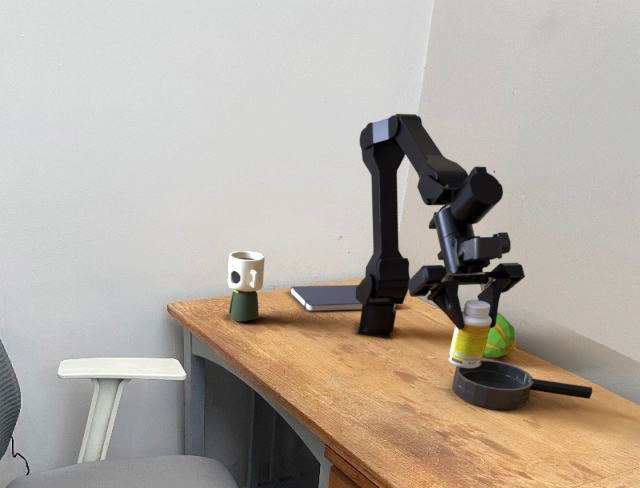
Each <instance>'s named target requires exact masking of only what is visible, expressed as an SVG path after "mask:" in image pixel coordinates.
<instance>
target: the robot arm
mask: <svg viewBox="0 0 640 488" xmlns="http://www.w3.org/2000/svg"><path fill="white" fill-rule="evenodd" d="M359 146H360V149H361V159H362V162H363V165H364V166H365V168H366V169H367V170H368V172H369V173H370V178H371V213H372V214H371V215H372V216H371V218H372V247H373V249H372V250H373V251H372V255H371V256H370V259H369V260H368V262H367V264H366V266H365V274H364V275H365V276H364V277H363V279H362V280H361V281H360V282H359V283H358V284H357V285H358V286H357V287H356V299H357V300H358V301H359V302H361V303H362V304H363V305H362V310H361V312H360V320H359V326H358V329H357V332H356V333H357V334H359V335H365V336H366V335H367V336H373V337H379V338H390V335H391V334H392V333H393V332H394V328H395V323H396V315H397V311H398V310H397V308H396V309H394V305H395V304H396V305H403V304H404V302H405V299H406V297H407V295H408V292H409V296H410V297H411V298H414V297H418V298H419V297H426V300H427V301H431V302H433V304H435V305H436V306H437V307H438V308H439V309H440V311H442V312H443V313H444V314H445V315H446V316H447V318H448V319H449V320H450V322H452V324H453V325H454V327H455V326H456V327H457V328H458V329H459V330H462V329H463V328H464V320H463V315H462V312H463V311H462V307H461V302H460V298H459V286H469V285H471V286H473V285H479V286H480V290H481V292H479V294H478V295H476V297H477V300H479V301H484V302H486V303H488V304H489V305H490V310H489V314H488V315H489V316H490V317H491V319H492V322H491V327H490V328H493V327H495V325H496V319H497V312H498V311H499V303H500V298H501V294H504V293H507V292H509V291H510V290H511V289H513V288H514V287H515V286H516V285H517V284H518V283H520V282H521V281H522V280H523V279H524V278H526V275H525V271H524V270H525V269H524V267H523V265H522V264H520V263H518V262H500V263H499V264H497V265H496V266H495V267H494V268H493V269H491V271H484V270H483V269H484V268H488V267H489V266H490V265H491V260H495V259H498V260H500V259H503V255H505V254H508V253H510V251H511V248H512V247H511V246H512V244H511V243H512V242H511V239H510V236H509V232H507V231H506V232H505V231H504V232H502V231H501V232H497V233H494V234H492V236H481V235H476V234H475V230H474V226H473V225H475V224H476V225H477V224H478V223H480V222H481V221H482V220H483V219H484V218H485V217H486V216H487V215H488V214H489V213H490V212H491V211H492V210H493V209H494V208H495V206H496V205H498V203H499V202H500V201H501V200H502V198H503V196H504V188H503V185H502V184H501V183H500V181H499V180H498V178H496V177H495V176H494V175H493V174H491V173H489V172H488V170H487V167H486V166H474V167H473V168H472V169H471V170H470V172H469V174H468V171H467V170H466V169H465V168H464V167H462V166H461V165H460V164H459V163H458V162H455V161H454V160H451V159H449V158H447V157H445V156H444V154H443V153H442V152H441V150H440V149H439V148H438V145H436V143H435V142H434V140H433V139H432V137H431V135H430V134H429V133H428V131H427V130H426V128H425V126H423V122H422V118H421V117H420V116H419V115H417V114H415V113H413V114H412V113H396V114H393V115H391V116H390V117H388V118H384V119H382V120H378V121H373V122H368V123H367V124H366V126H365V127H364V128H362V130H361V131H360V134H359ZM405 157H406V158H407V160H408V161H409V163H410V164H411V166H412V168H413V169H414V170H415V172H416V174H417V176H418V182H417V190H418V192H419V195H420V198H421V200H422V201H423V203H424V204H425V205H426V206H442V207H441V208H440V209H438V211H434V212H433V215H432V218H431V219H430V221H429V223H428V230H436V234H437V239H438V244H439V248H440V251H439V252H438V253H437V259H438V261H443V264H428V265H422V266H421V267H420V268H419V269H418V270H417V271H416V272H415V273H414V275H412V276H410V260H409V258H408V257H404V256H403V255H402V253H401V252H400V246H399V245H400V244H399V204H398V203H399V202H398V170H399V168H400V167H401V165H402V163H403V161H404V159H405ZM498 313H499V312H498Z"/></svg>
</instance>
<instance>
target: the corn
mask: <svg viewBox="0 0 640 488" xmlns="http://www.w3.org/2000/svg"><path fill="white" fill-rule="evenodd" d="M516 339H517V338H516V332H515V327H514V326H513V325H512V324H511V322H509V321H508V319H506V317H505V316H504V315H502V314H501V313H499V312H497V319H496V325H495V327H493V328H490V331H489V335H488V339H487V343H486V347H485V351H484V356H483V357H486V358H500V359H502V358H506V357H508V356H510V355H512V354H513V353H514V352H515V349H516V347H517V341H516Z"/></svg>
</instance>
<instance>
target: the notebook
mask: <svg viewBox="0 0 640 488" xmlns="http://www.w3.org/2000/svg"><path fill="white" fill-rule="evenodd" d="M358 285H359V284H339V285H338V284H337V285H336V284H335V285H302V286H296V285H295V286H290V290H289V291H290V292H289V294H290V295H292V296H293V298H294V299H295V300H296V301H297V302H298V303H299V304H300V305H301V306H302V307H303V308H304V309H305V310H306V311H308V312H338V311H339V312H340V311H362V305H363V304H362V303H361V302H359V301H358V300H357V299H356V287H357V286H358ZM394 309H396V310H397V304H395V305H394Z"/></svg>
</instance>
